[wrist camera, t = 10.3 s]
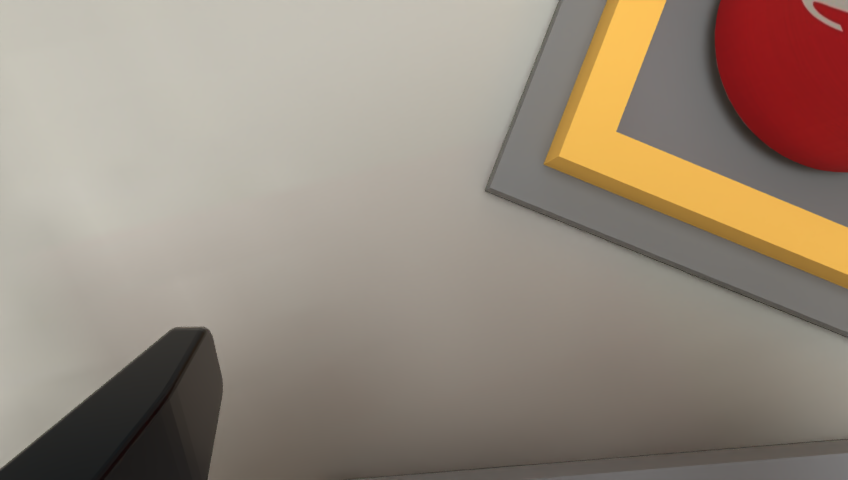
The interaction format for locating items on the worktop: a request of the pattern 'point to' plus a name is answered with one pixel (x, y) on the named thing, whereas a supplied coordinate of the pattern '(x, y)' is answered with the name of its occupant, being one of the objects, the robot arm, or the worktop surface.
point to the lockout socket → (671, 159)
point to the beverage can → (788, 75)
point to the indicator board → (679, 466)
